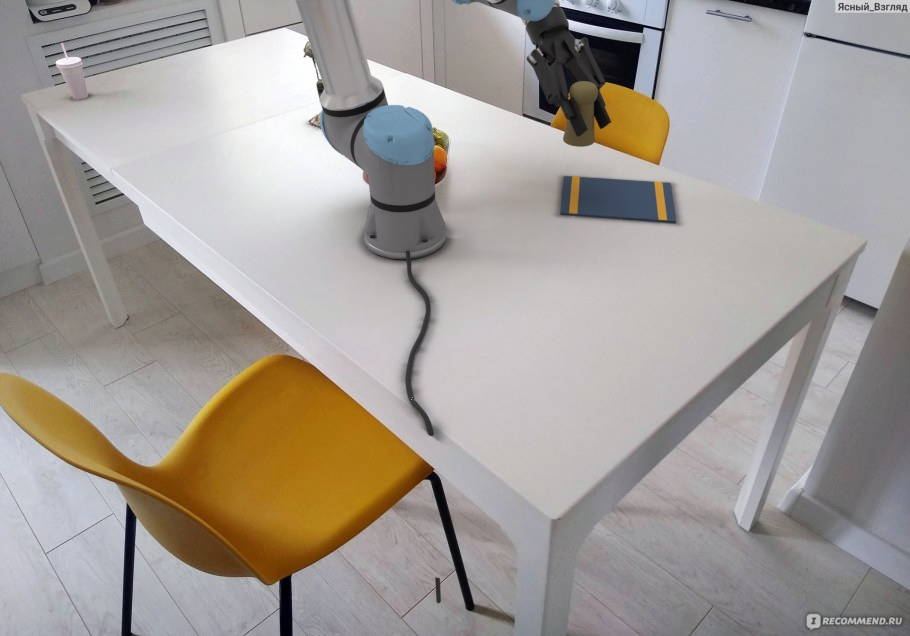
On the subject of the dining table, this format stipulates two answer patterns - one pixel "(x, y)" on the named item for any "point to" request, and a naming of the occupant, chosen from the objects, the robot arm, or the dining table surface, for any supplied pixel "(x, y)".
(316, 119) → the stone sculpture
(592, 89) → the cork
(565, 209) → the towel
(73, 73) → the smoothie
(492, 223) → the dining table surface
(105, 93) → the dining table surface
